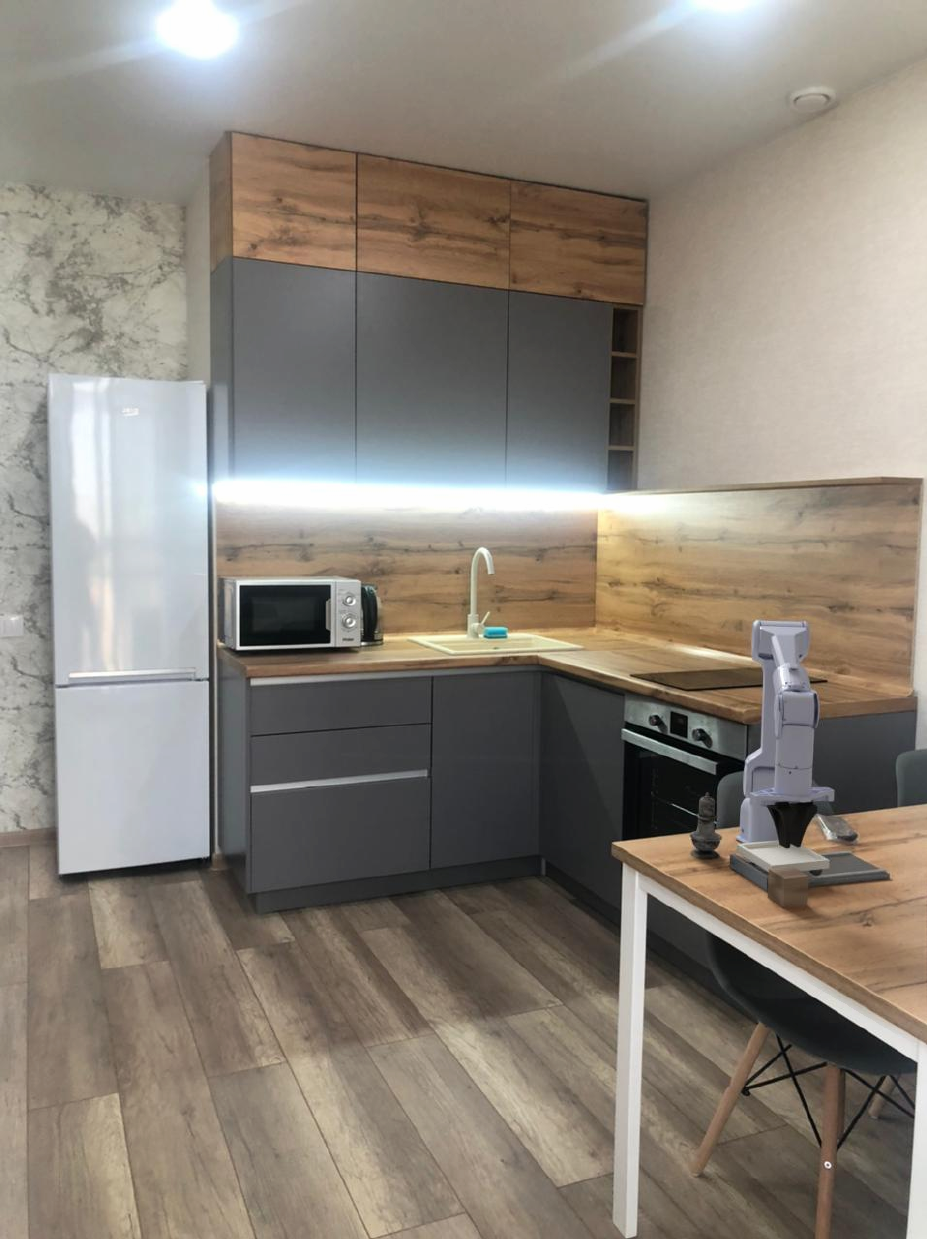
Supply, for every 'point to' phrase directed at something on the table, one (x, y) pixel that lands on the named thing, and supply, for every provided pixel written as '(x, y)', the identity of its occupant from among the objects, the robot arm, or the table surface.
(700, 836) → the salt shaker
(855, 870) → the dark grey tray
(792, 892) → the plain brown block
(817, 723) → the robot arm
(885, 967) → the table surface
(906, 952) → the table surface
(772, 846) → the white recessed tray
